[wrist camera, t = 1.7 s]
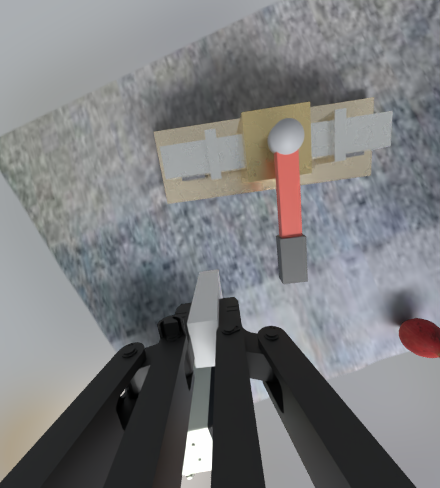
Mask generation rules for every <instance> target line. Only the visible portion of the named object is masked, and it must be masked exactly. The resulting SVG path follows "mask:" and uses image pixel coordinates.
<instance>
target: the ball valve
mask: <svg viewBox="0 0 440 488" xmlns="http://www.w3.org/2000/svg"><path fill="white" fill-rule="evenodd" d="M193 368H194V373H195V380H194V388H193V395H192V403H191V411H190V418H189V426H188V434H187V441H186V449H185V457H184V464H183V472H182V475H186V477H187V479H192V478H193V477H194V475H195V473H198V472H204V471H210V470H212V441H213V412H214V382H215V366H212V367H203V368H196V366H195V361H194V367H193Z"/></svg>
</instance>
